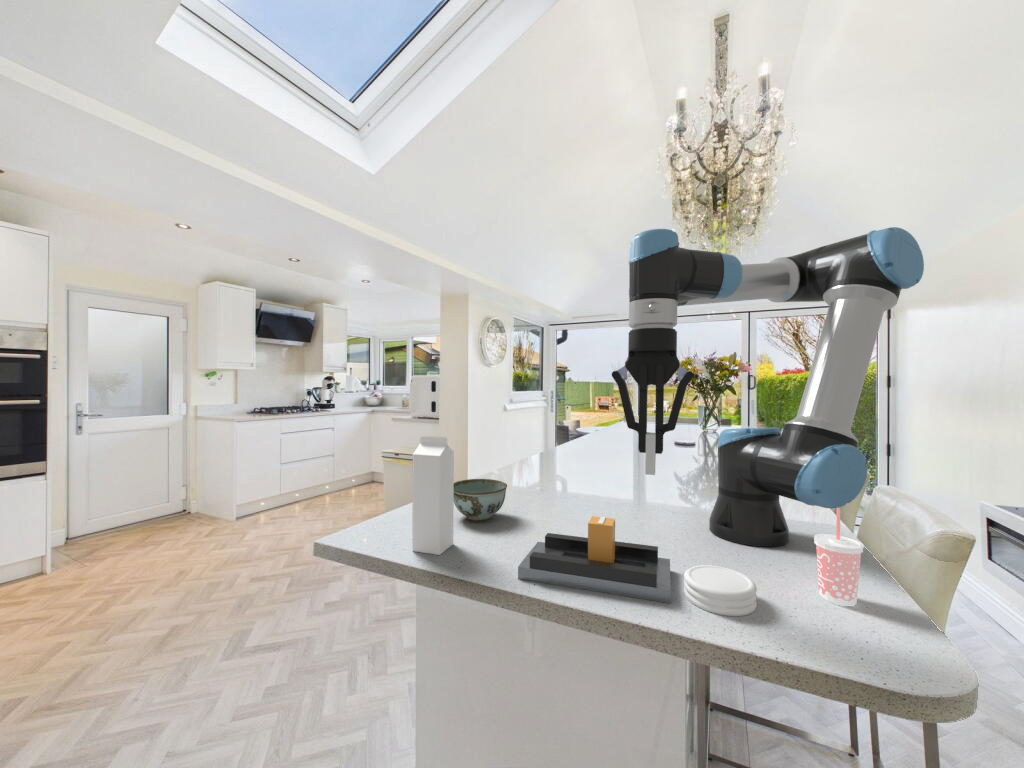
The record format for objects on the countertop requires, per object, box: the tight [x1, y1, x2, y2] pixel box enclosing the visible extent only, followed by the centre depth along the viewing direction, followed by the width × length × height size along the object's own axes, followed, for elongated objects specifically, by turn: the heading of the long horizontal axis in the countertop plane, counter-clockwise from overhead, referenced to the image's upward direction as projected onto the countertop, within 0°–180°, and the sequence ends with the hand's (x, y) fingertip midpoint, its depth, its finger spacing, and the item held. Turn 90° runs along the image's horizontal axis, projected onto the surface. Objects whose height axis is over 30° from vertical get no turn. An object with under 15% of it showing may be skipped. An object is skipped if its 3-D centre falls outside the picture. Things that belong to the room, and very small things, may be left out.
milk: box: [411, 435, 455, 556], centre depth 86 cm, size 6×6×22 cm
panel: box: [517, 532, 672, 604], centre depth 75 cm, size 24×12×4 cm, turn 71°
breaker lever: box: [587, 515, 616, 563], centre depth 75 cm, size 4×4×7 cm
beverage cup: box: [813, 507, 865, 605], centre depth 67 cm, size 6×6×14 cm
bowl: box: [454, 478, 508, 523], centre depth 105 cm, size 14×13×8 cm
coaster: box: [683, 564, 758, 617], centre depth 67 cm, size 10×10×4 cm
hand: (650, 472), depth 72 cm, fingers closed
